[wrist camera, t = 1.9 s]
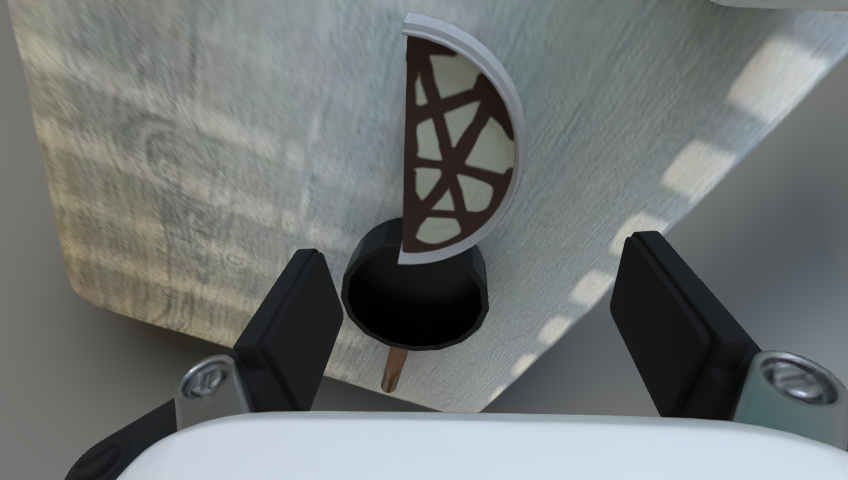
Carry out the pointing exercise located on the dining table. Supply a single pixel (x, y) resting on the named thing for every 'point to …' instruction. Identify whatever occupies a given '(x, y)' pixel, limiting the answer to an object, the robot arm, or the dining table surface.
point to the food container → (456, 141)
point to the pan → (412, 297)
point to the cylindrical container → (788, 4)
